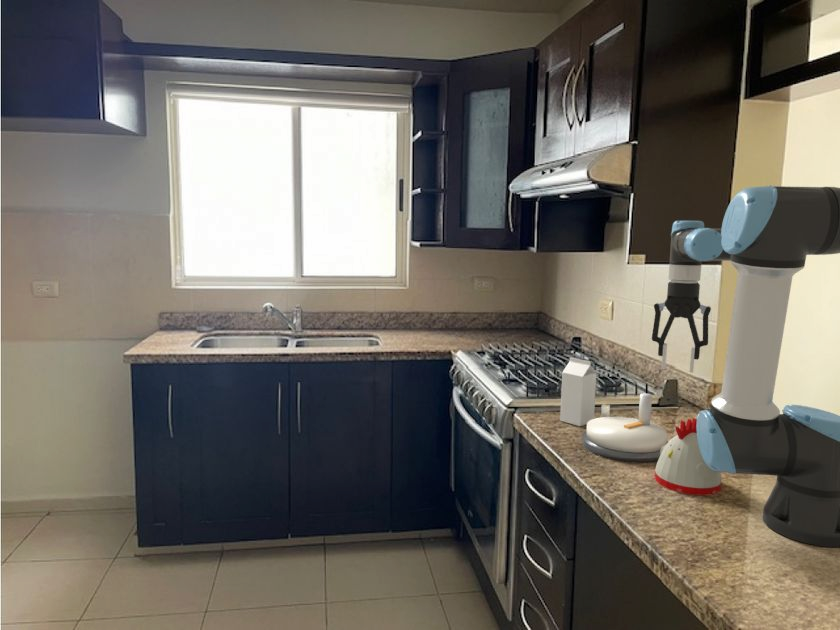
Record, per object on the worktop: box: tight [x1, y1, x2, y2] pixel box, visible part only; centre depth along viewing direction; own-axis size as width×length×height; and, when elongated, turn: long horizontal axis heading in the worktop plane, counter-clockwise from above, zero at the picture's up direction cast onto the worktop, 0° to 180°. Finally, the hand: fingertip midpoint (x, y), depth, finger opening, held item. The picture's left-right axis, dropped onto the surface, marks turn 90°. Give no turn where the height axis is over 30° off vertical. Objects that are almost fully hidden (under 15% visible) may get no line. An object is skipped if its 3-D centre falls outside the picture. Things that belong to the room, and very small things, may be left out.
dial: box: [585, 392, 668, 453], centre depth 161 cm, size 20×20×11 cm
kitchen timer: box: [654, 417, 722, 496], centre depth 139 cm, size 14×14×15 cm
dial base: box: [581, 403, 669, 464], centre depth 163 cm, size 25×22×7 cm
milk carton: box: [559, 357, 597, 427], centre depth 182 cm, size 7×7×19 cm
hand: (677, 369), depth 160 cm, fingers open, 6 cm apart
